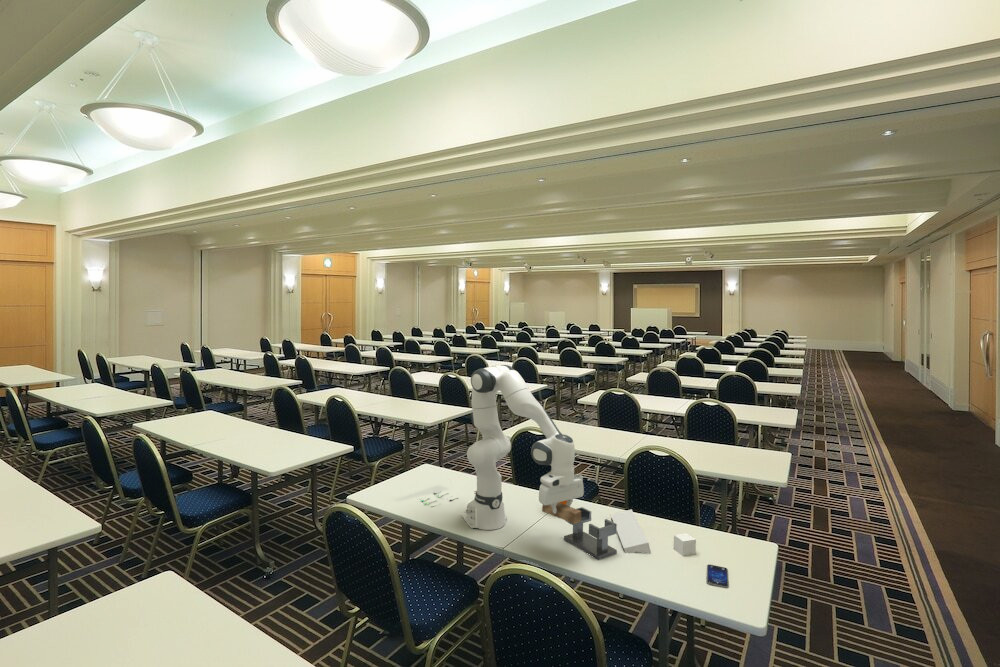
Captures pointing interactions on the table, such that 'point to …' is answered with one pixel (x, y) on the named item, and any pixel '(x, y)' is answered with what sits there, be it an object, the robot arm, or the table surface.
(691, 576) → the table surface
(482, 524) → the robot arm
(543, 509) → the rail
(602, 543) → the bracket stand
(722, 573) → the smartphone
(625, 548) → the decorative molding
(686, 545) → the white cube
